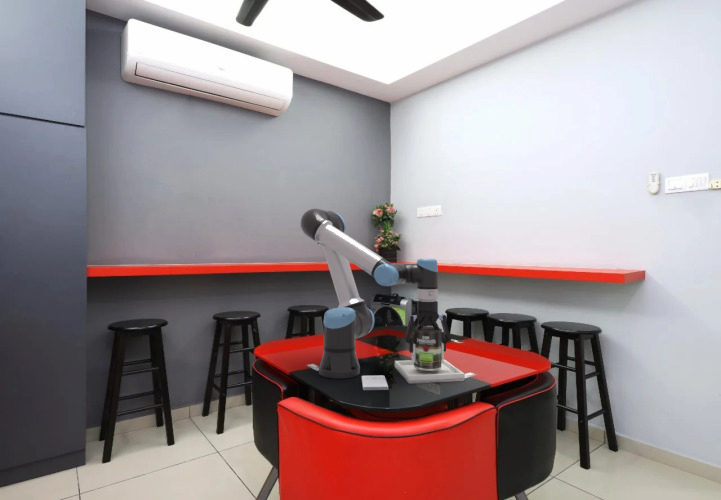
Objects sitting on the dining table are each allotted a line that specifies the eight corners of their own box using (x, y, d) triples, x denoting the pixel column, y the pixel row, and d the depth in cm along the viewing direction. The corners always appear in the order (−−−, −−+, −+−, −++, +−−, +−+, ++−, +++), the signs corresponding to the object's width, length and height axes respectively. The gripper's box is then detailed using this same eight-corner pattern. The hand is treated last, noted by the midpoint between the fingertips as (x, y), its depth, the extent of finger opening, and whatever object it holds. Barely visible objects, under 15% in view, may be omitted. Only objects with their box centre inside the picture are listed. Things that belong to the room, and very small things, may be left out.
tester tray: (408, 383, 134) (408, 376, 134) (394, 367, 153) (394, 360, 153) (464, 380, 137) (464, 373, 137) (443, 365, 156) (443, 359, 156)
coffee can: (440, 372, 139) (440, 331, 139) (411, 369, 142) (411, 330, 142) (443, 364, 148) (443, 327, 149) (415, 362, 152) (415, 325, 152)
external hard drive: (363, 391, 127) (361, 379, 139) (388, 391, 127) (384, 379, 140) (363, 386, 127) (361, 375, 139) (388, 386, 127) (384, 375, 140)
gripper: (400, 301, 140) (400, 364, 140) (460, 301, 144) (460, 362, 143) (395, 299, 148) (395, 359, 147) (452, 298, 151) (452, 357, 150)
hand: (427, 360), depth 145 cm, fingers closed on coffee can, 10 cm apart
